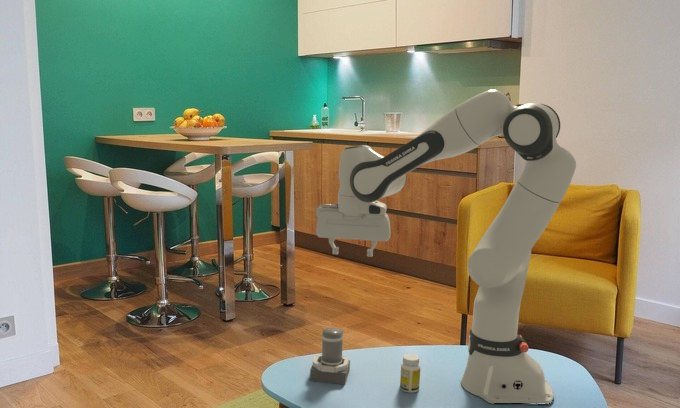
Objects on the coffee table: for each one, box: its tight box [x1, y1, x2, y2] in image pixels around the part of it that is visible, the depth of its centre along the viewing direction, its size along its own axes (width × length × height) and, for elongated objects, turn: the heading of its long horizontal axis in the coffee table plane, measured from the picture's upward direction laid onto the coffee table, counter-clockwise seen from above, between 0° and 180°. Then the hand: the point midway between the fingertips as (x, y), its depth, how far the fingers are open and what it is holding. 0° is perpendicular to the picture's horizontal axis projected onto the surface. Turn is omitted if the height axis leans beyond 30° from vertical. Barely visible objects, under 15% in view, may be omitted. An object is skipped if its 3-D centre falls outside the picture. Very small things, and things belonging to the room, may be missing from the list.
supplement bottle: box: [399, 353, 421, 394], centre depth 156 cm, size 5×5×8 cm
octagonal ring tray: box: [309, 353, 351, 385], centre depth 162 cm, size 9×9×4 cm
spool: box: [321, 327, 344, 366], centre depth 161 cm, size 5×5×9 cm
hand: (352, 255), depth 172 cm, fingers open, 8 cm apart
